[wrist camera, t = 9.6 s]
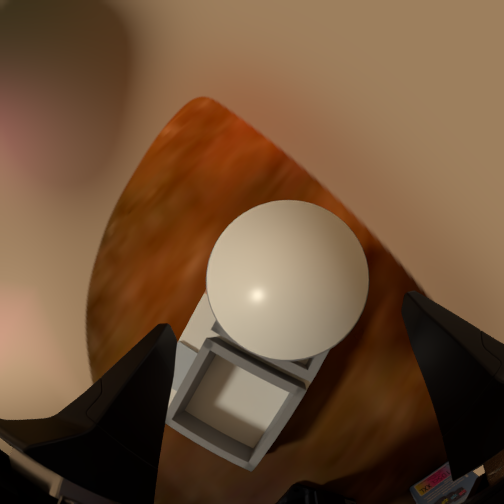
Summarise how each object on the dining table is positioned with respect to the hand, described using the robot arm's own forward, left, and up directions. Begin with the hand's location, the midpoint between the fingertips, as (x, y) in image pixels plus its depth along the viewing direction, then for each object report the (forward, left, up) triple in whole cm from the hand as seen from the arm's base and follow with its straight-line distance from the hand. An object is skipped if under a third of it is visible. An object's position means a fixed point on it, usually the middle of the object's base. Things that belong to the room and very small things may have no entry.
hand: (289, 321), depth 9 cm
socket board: (-3, +2, -11) cm, 11 cm away
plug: (+1, +1, -10) cm, 10 cm away
